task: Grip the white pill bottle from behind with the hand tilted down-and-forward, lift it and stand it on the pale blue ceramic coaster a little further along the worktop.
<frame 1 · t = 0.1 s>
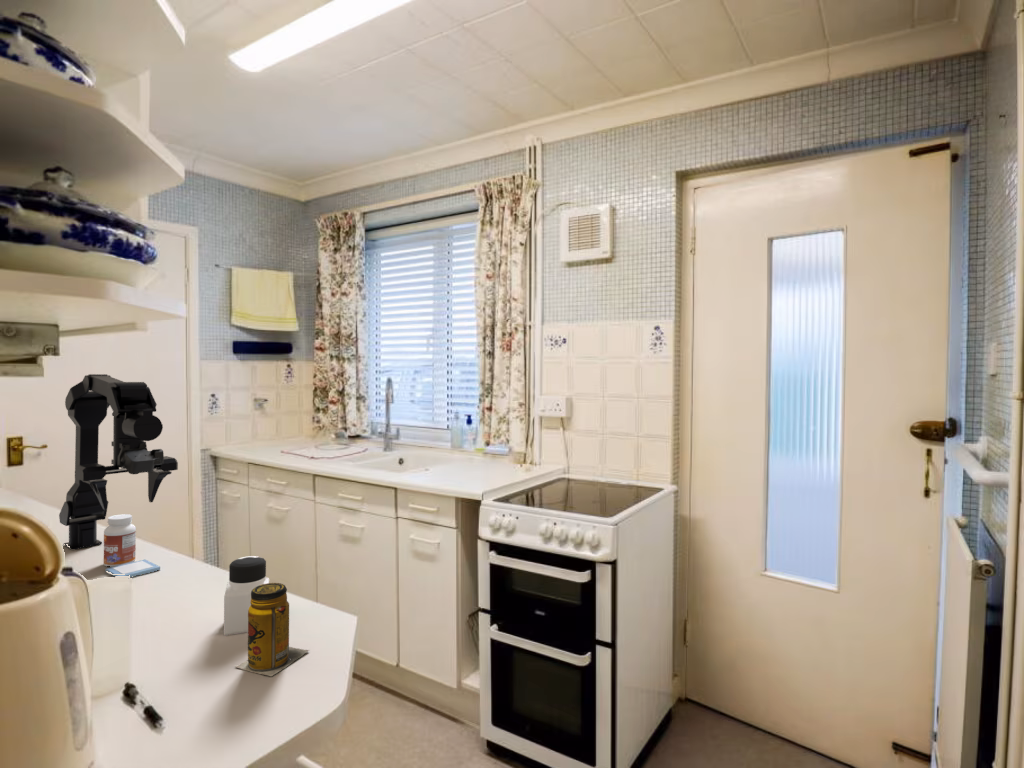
hand: (128, 505, 128), 15 cm above the counter, tool pointing down, fingers open, 9 cm apart
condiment: (273, 661, 90), on the counter
pill bottle: (119, 564, 132), on the counter
coaster: (133, 571, 127), on the counter
medicine bottle: (247, 625, 102), on the counter
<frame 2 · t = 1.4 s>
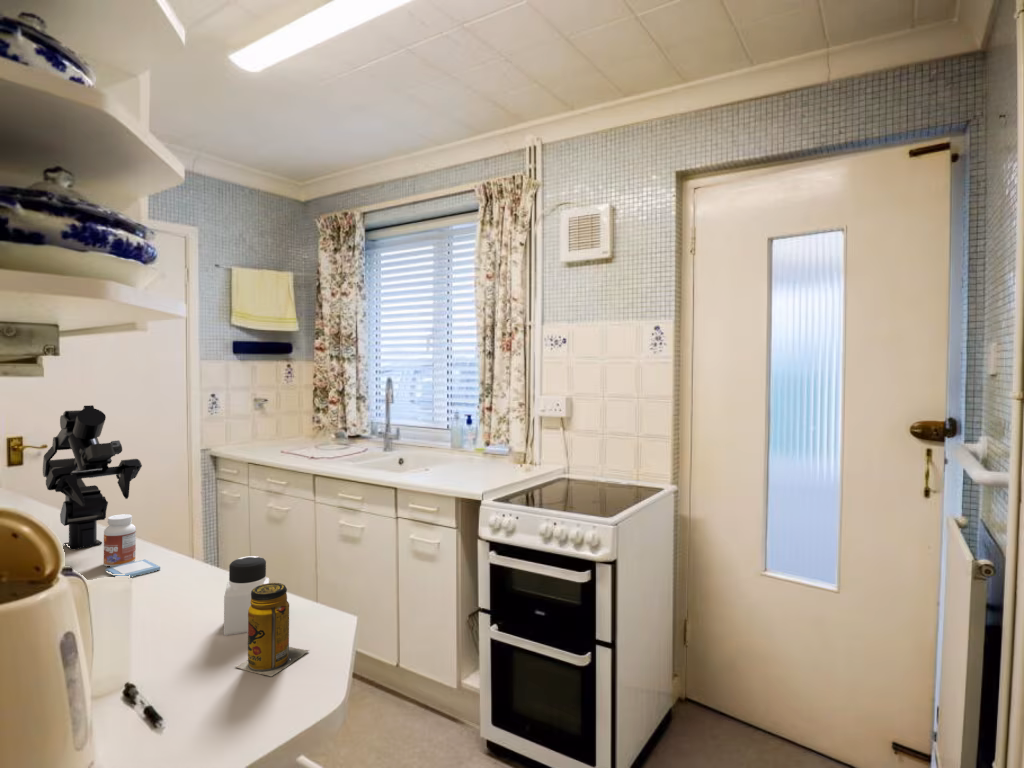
hand: (106, 501, 136), 13 cm above the counter, tool tilted 45°, fingers open, 9 cm apart
nothing on the counter moved.
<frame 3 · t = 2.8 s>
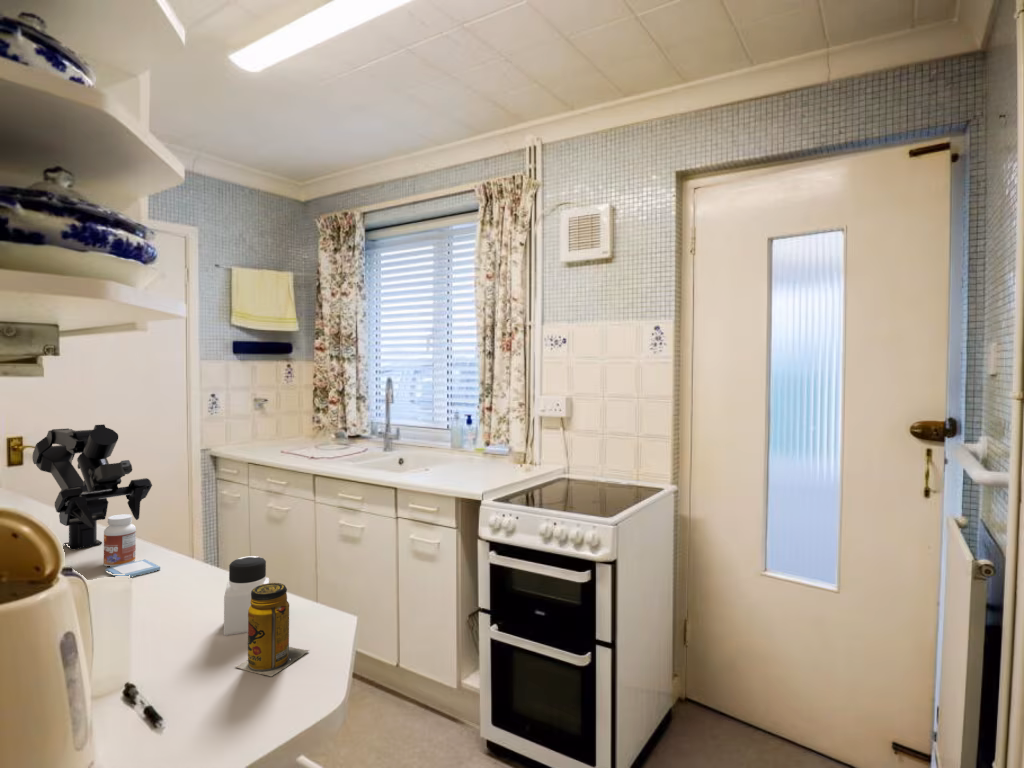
hand: (116, 522, 133), 9 cm above the counter, tool tilted 45°, fingers open, 9 cm apart
nothing on the counter moved.
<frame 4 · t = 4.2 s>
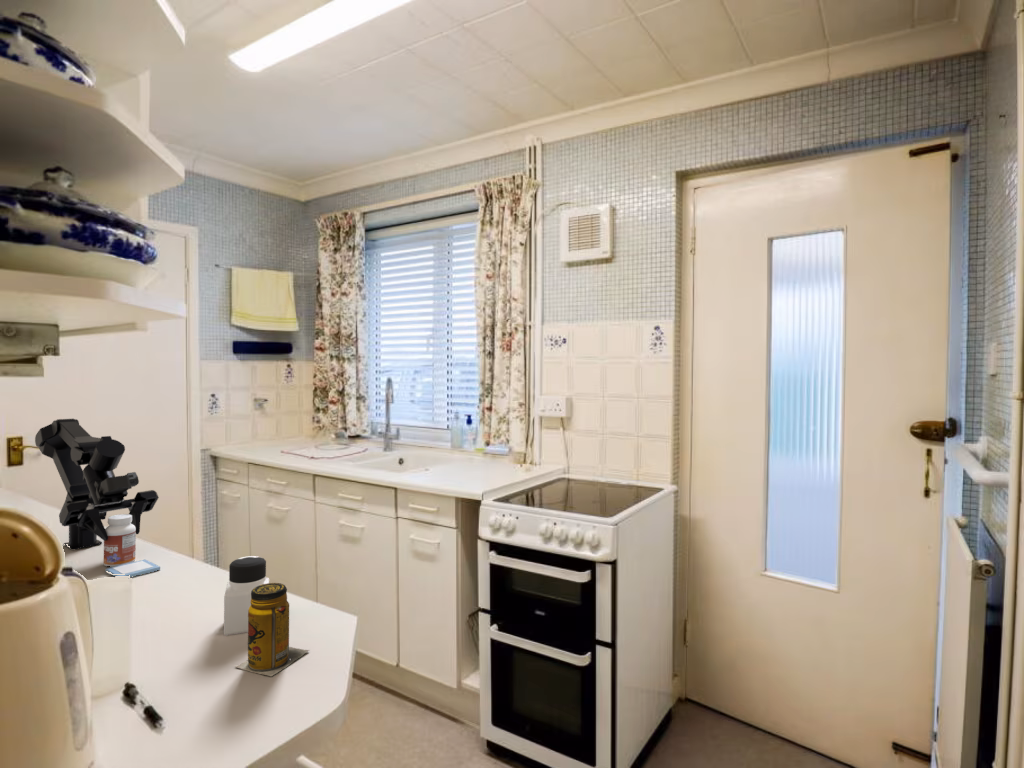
hand: (122, 536, 131), 7 cm above the counter, tool tilted 45°, fingers closed on pill bottle, 6 cm apart
pill bottle: (119, 564, 132), on the counter, touching gripper
everything else where it was.
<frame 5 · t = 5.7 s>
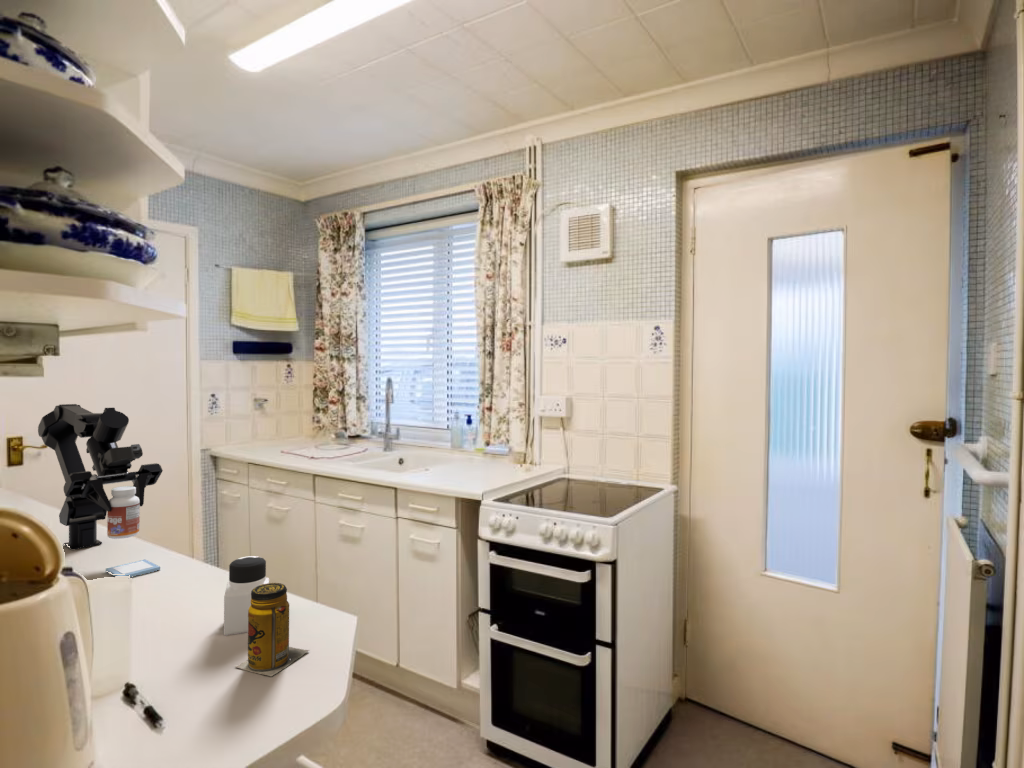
hand: (126, 508, 130), 14 cm above the counter, tool tilted 45°, fingers closed on pill bottle, 6 cm apart
pill bottle: (123, 536, 131), point 7 cm above the counter, touching gripper
everything else where it was.
when the fingers open (8 cm above the counter, at t = 7.5 s): pill bottle stays where it is, resting on coaster.
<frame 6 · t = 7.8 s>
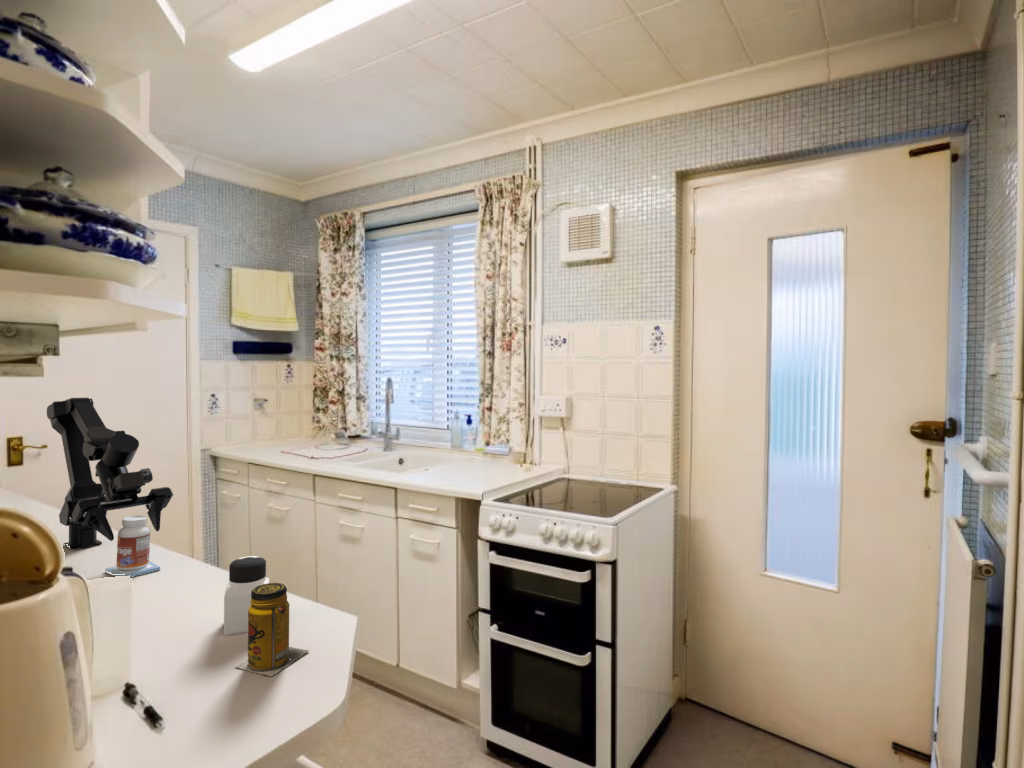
hand: (136, 534, 126), 9 cm above the counter, tool tilted 45°, fingers open, 9 cm apart
pill bottle: (132, 567, 127), point 1 cm above the counter, touching coaster
everything else where it was.
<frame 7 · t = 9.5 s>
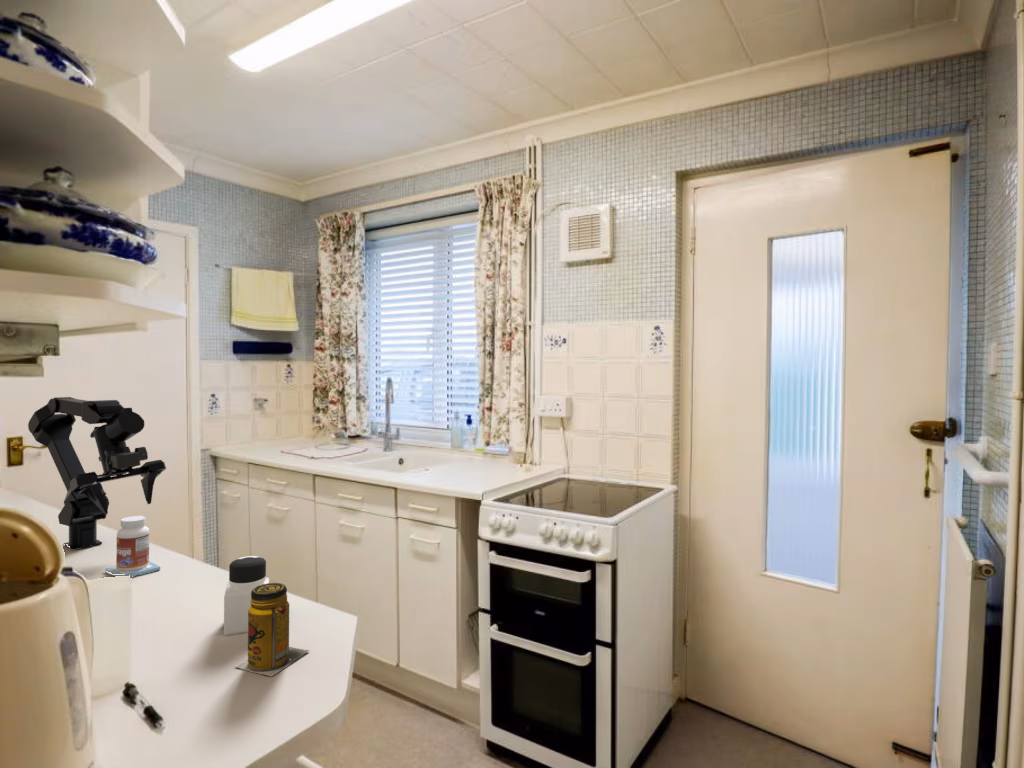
hand: (128, 508, 136), 12 cm above the counter, tool tilted 25°, fingers open, 9 cm apart
nothing on the counter moved.
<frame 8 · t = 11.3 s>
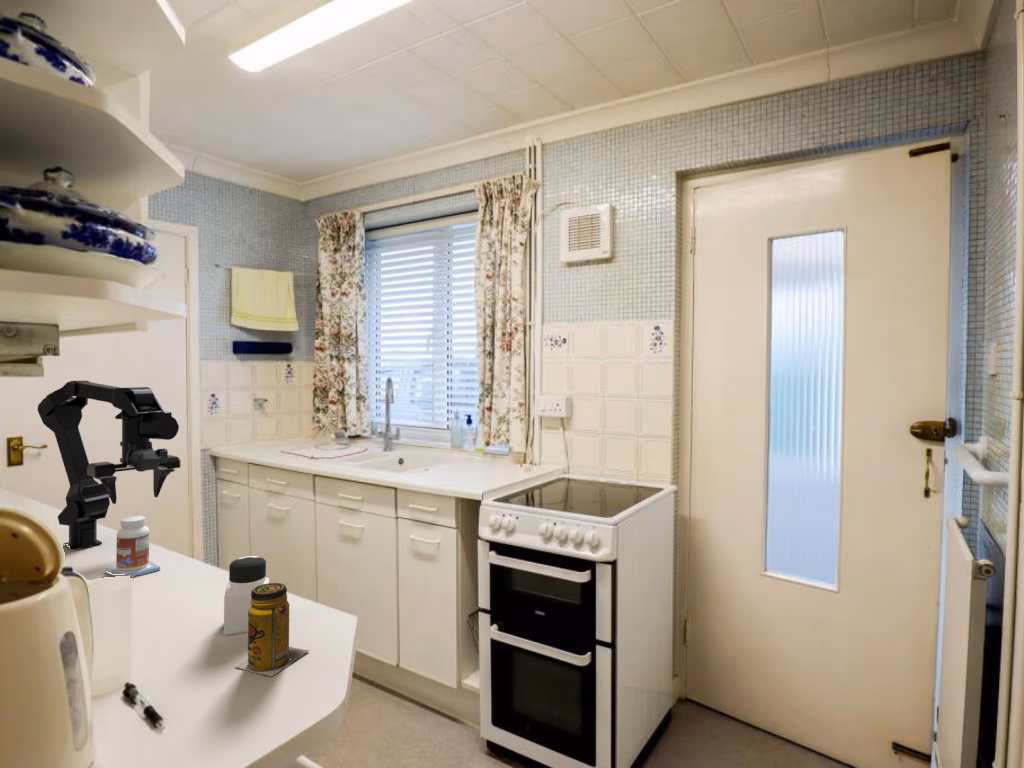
hand: (135, 500, 140), 13 cm above the counter, tool pointing down, fingers open, 9 cm apart
nothing on the counter moved.
at the end: pill bottle 0.2 cm from the coaster (horizontally); pill bottle tilted 0°; the gripper is holding nothing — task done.
